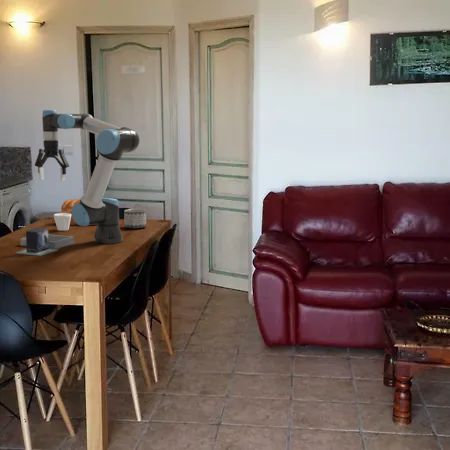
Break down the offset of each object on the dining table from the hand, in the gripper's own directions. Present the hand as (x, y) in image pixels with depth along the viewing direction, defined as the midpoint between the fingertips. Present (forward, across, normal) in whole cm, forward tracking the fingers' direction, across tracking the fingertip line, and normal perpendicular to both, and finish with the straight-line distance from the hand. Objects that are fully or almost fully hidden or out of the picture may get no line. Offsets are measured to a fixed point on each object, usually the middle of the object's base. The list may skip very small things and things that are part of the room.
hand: (52, 180), depth 349 cm
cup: (+32, +12, -24) cm, 42 cm away
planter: (+32, -22, -48) cm, 62 cm away
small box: (+31, -13, +31) cm, 46 cm away
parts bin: (+32, -6, +14) cm, 35 cm away
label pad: (+32, -13, +31) cm, 46 cm away
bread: (+32, +15, -48) cm, 60 cm away
